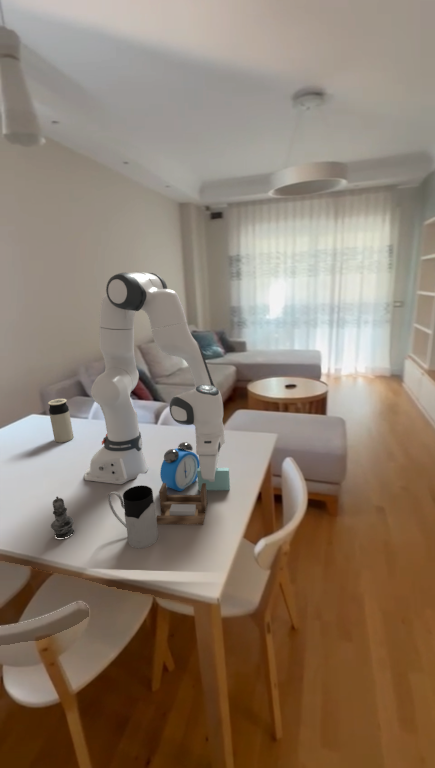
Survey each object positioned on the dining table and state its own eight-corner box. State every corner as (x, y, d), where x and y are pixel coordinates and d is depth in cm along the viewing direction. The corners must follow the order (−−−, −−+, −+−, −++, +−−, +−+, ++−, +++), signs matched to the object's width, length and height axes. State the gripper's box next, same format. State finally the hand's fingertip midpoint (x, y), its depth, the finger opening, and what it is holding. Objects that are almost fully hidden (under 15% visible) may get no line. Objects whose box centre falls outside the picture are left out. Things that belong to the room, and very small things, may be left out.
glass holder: (148, 557, 95) (142, 506, 91) (103, 544, 101) (95, 495, 97) (166, 535, 103) (161, 487, 99) (124, 524, 109) (117, 478, 104)
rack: (157, 528, 106) (154, 501, 104) (165, 507, 116) (163, 482, 113) (203, 529, 105) (201, 502, 102) (207, 507, 114) (205, 482, 112)
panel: (198, 494, 122) (197, 470, 119) (199, 491, 123) (197, 467, 121) (229, 494, 121) (228, 470, 118) (230, 491, 122) (229, 467, 120)
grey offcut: (169, 515, 106) (169, 510, 106) (172, 509, 109) (171, 504, 109) (194, 516, 106) (194, 511, 105) (196, 509, 109) (195, 504, 108)
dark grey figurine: (57, 528, 109) (49, 491, 105) (77, 526, 109) (71, 489, 106) (50, 541, 103) (42, 503, 100) (72, 539, 104) (64, 501, 100)
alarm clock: (175, 500, 119) (171, 456, 115) (161, 494, 123) (156, 452, 119) (201, 481, 129) (198, 440, 125) (187, 476, 133) (184, 437, 128)
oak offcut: (165, 520, 107) (164, 515, 106) (167, 513, 110) (167, 508, 109) (196, 521, 106) (196, 516, 105) (198, 514, 109) (197, 509, 109)
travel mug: (69, 442, 166) (62, 403, 161) (51, 443, 166) (44, 404, 161) (76, 435, 173) (69, 397, 168) (59, 435, 174) (52, 398, 168)
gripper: (204, 424, 127) (206, 461, 131) (195, 452, 107) (198, 495, 111) (223, 424, 126) (225, 461, 130) (217, 452, 106) (219, 495, 110)
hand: (212, 477), depth 120 cm, fingers open, 3 cm apart
